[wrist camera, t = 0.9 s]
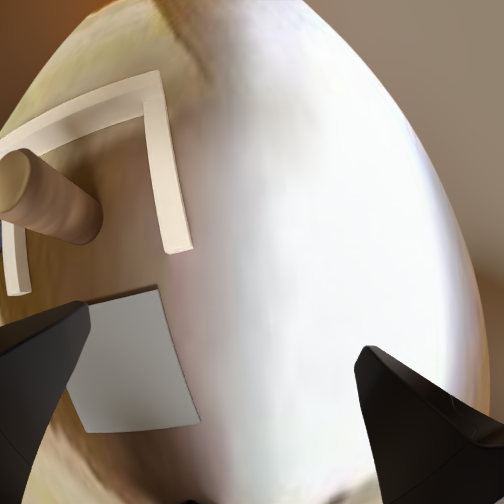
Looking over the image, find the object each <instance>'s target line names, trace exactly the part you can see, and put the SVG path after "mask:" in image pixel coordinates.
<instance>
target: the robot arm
mask: <svg viewBox="0 0 504 504" xmlns="http://www.w3.org/2000/svg"><path fill="white" fill-rule="evenodd" d="M90 330H91V320H90V313H89V306H88V304H87V303H84V302H81V301H73V302H70V303H67V304H64V305H61V306H58V307H56V308H53V309H50V310H47V311H44V312H41V313H38V314H35V315H32V316H30V317H27V318H24V319H21V320H18V321H15V322H12V323H10V324H7V325H4V326H1V327H0V504H21V502H22V498H23V495H24V491H25V488H26V484H27V481H28V478H29V475H30V472H31V469H32V465H33V462H34V460H35V457H36V454H37V451H38V449H39V446H40V444H41V441H42V439H43V436H44V434H45V431H46V429H47V426H48V424H49V422H50V419H51V417H52V415H53V413H54V410H55V408H56V406H57V404H58V402H59V400H60V398H61V395H62V393H63V391H64V389H65V387H66V385H67V383H68V381H69V379H70V377H71V375H72V373H73V371H74V369H75V367H76V365H77V363H78V360H79V357H80V355H81V352H82V350H83V347H84V345H85V343H86V340H87V338H88V336H89V333H90ZM354 373H355V378H356V384H357V390H358V396H359V402H360V407H361V411H362V415H363V419H364V423H365V426H366V430H367V434H368V438H369V442H370V446H371V450H372V454H373V459H374V463H375V467H376V472H377V477H378V481H379V486H380V491H381V496H382V501H383V504H504V424H502V423H500V422H498V421H496V420H494V419H492V418H490V417H489V416H487V415H485V414H483V413H481V412H479V411H477V410H476V409H474V408H472V407H470V406H468V405H467V404H465V403H463V402H462V401H460V400H459V399H457V398H455V397H454V396H452V395H450V394H449V393H448V392H446V391H444V390H443V389H441V388H440V387H438V386H437V385H435V384H434V383H432V382H431V381H429V380H427V379H426V378H424V377H423V376H421V375H420V374H418V373H417V372H415V371H414V370H412V369H410V368H409V367H407V366H406V365H404V364H403V363H401V362H400V361H398V360H397V359H395V358H394V357H392V356H391V355H389V354H388V353H386V352H385V351H383V350H381V349H380V348H378V347H377V346H365V347H363V349H362V351H361V353H360V355H359V357H358V359H357V361H356V363H355V366H354ZM183 504H198V503H196V502H194V501H190V500H189V501H186V502H184V503H183Z"/></svg>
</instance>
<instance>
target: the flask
mask: <svg viewBox="0 0 504 504" xmlns="http://www.w3.org/2000/svg"><path fill="white" fill-rule="evenodd" d="M2 249H3V248H2V222H0V253H1V252H2Z"/></svg>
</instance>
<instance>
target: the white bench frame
mask: <svg viewBox="0 0 504 504" xmlns="http://www.w3.org/2000/svg"><path fill="white" fill-rule="evenodd" d="M143 115H144V123H145V133H146V142H147V150H148V158H149V166H150V173H151V179H152V186H153V192H154V198H155V204H156V210H157V215H158V221H159V226H160V231H161V236H162V241H163V246H164V250H165V252H166V253H168V254H174V253H178V252H182V251H186V250H190V249H194V248H193V244H192V240H191V235H190V231H189V226H188V222H187V217H186V212H185V208H184V203H183V198H182V193H181V188H180V183H179V178H178V173H177V167H176V162H175V156H174V150H173V145H172V139H171V133H170V126H169V120H168V113H167V106H166V99H165V93H164V89H163V85H162V81H161V77H160V73H159V69H158V70H154V71H150V72H146V73H143V74H139V75H136V76H133V77H129V78H126V79H123V80H120V81H117V82H114V83H112V84H109V85H106V86H103V87H101V88H98V89H95V90H93V91H90V92H88V93H86V94H83V95H81V96H78V97H76V98H74V99H72V100H69V101H67V102H65V103H63V104H61V105H59V106H57V107H55V108H53V109H51V110H49V111H47V112H45V113H43V114H41V115H39V116H38V117H36V118H34V119H32V120H30V121H29V122H27V123H25V124H24V125H22V126H20V127H19V128H17V129H15V130H14V131H12V132H11V133H9V134H8V135H6V136H5V137H3V138H2V139H0V160H1V159H2V158H3V157H4V156H5V155H6V154H7V153H9V152H11V151H14V150H18V149H21V148H27V149H29V150H31V151H32V152H33V153H35V154H36V155H37V156H38V157H39V156H41V155H43V154H45V153H47V152H49V151H51V150H53V149H55V148H57V147H60V146H62V145H64V144H66V143H68V142H71V141H73V140H75V139H78V138H80V137H83V136H85V135H88V134H90V133H93V132H95V131H98V130H101V129H103V128H106V127H109V126H112V125H115V124H117V123H120V122H123V121H127V120H130V119H133V118H136V117H139V116H143ZM2 248H3V262H4V272H5V280H6V287H7V294H8V296H20V295H23V294H27V293H30V292H32V289H31V283H30V276H29V269H28V260H27V250H26V237H25V228H24V227H21V226H18V225H15V224H12V223H9V222H6V221H3V220H2Z"/></svg>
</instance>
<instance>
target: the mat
mask: <svg viewBox="0 0 504 504" xmlns="http://www.w3.org/2000/svg"><path fill="white" fill-rule="evenodd" d="M89 313H90V320H91V330H90V333H89V336H88V338H87V340H86V343H85V345H84V347H83V350H82V352H81V355H80V357H79V360H78V363H77V365H76V367H75V369H74V371H73V373H72V375H71V377H70V379H69V381H68V383H67V385H66V387H67V390H68V392H69V395H70V397H71V400H72V402H73V404H74V407H75V409H76V411H77V413H78V416H79V418H80V420H81V422H82V424H83V426H84V428H85V430H86V432H87V433H111V432H132V431H145V430H155V429H164V428H172V427H179V426H185V425H192V424H197V423H201V420H200V418H199V415H198V413H197V410H196V407H195V405H194V402H193V399H192V397H191V394H190V391H189V389H188V386H187V383H186V380H185V377H184V374H183V371H182V368H181V365H180V362H179V359H178V356H177V353H176V350H175V347H174V343H173V340H172V337H171V333H170V330H169V327H168V323H167V319H166V316H165V312H164V308H163V305H162V301H161V297H160V293H159V289H157V290H153V291H149V292H145V293H141V294H136V295H132V296H128V297H124V298H120V299H115V300H111V301H107V302H103V303H98V304H94V305H90V306H89Z"/></svg>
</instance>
